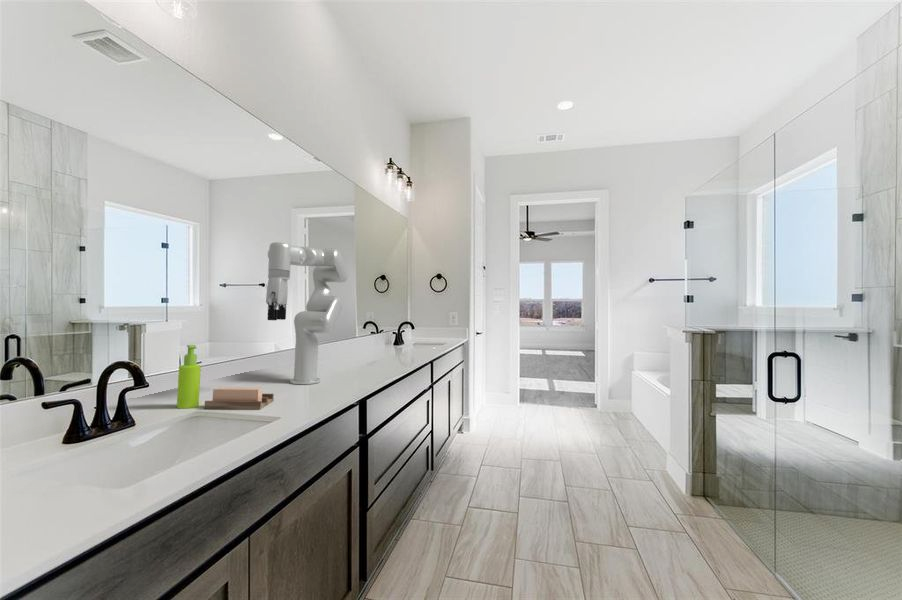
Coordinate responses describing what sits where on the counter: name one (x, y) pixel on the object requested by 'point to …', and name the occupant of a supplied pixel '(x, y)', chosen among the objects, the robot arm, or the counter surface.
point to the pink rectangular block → (237, 394)
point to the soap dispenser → (189, 381)
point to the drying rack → (240, 404)
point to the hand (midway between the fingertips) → (276, 319)
